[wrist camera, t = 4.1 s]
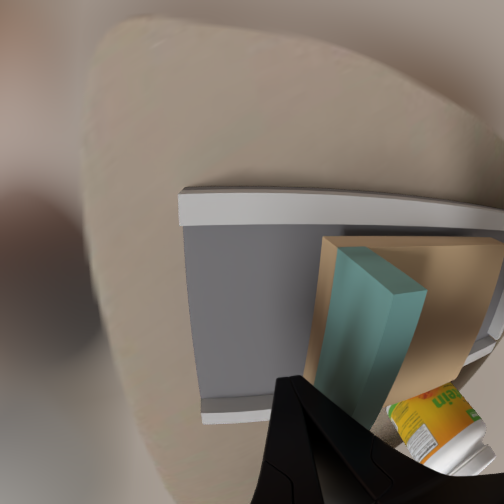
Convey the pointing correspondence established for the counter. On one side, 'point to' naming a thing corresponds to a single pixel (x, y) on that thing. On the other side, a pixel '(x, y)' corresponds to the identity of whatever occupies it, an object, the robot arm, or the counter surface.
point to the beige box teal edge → (396, 316)
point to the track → (290, 277)
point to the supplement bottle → (442, 431)
